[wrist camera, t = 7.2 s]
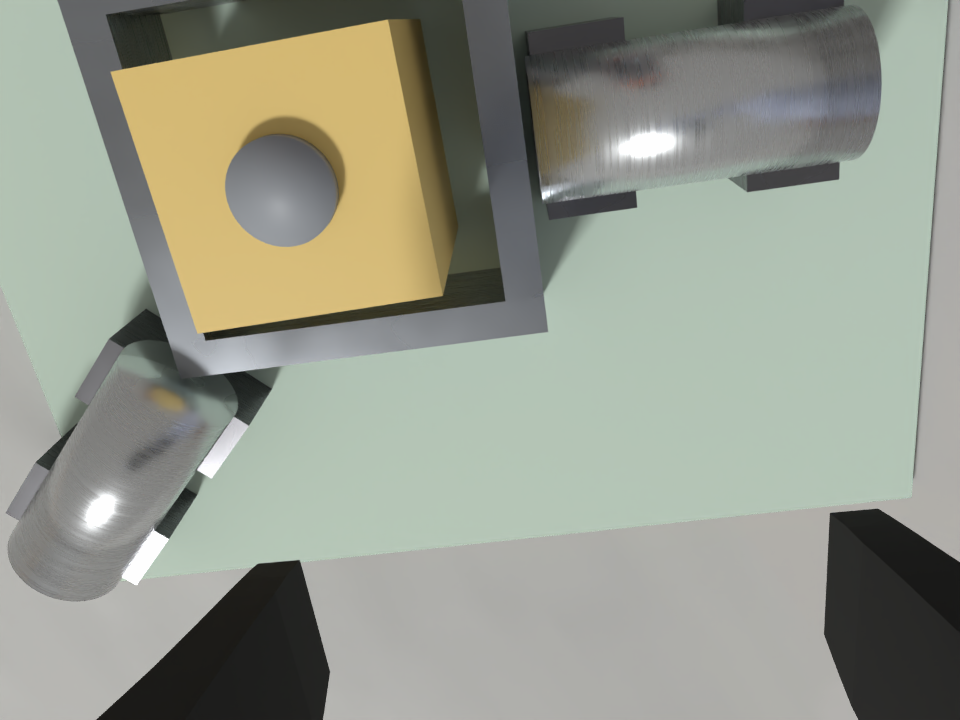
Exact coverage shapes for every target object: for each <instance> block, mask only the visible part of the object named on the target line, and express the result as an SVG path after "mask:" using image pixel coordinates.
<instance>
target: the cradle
mask: <svg viewBox="0 0 960 720" xmlns="http://www.w3.org/2000/svg"><path fill="white" fill-rule="evenodd" d="M57 1H58V4H59V7H60V10H61V13H62V16H63V19H64V22H65V25H66V28H67V31H68V34H69V37H70V40H71V44H72V47H73V50H74V53H75V56H76V59H77V62H78V65H79V68H80V71H81V74H82V77H83V80H84V83H85V86H86V90H87V93H88V96H89V99H90V102H91V105H92V108H93V111H94V114H95V117H96V120H97V123H98V126H99V129H100V133H101V136H102V139H103V142H104V145H105V148H106V151H107V154H108V157H109V160H110V163H111V166H112V169H113V172H114V175H115V179H116V182H117V185H118V188H119V191H120V194H121V197H122V200H123V203H124V206H125V209H126V212H127V215H128V218H129V221H130V225H131V228H132V231H133V234H134V237H135V240H136V243H137V246H138V249H139V252H140V255H141V258H142V261H143V264H144V268H145V271H146V274H147V277H148V280H149V283H150V286H151V289H152V292H153V295H154V298H155V301H156V304H157V307H158V310H159V314H160V317H161V320H162V323H163V326H164V329H165V332H166V335H167V338H168V341H169V344H170V347H171V350H172V353H173V356H174V360H175V363H176V366H177V369H178V372H179V375H180V378H181V379H185V378H193V377H200V376H208V375H216V374H224V373H232V372H240V371H247V370H255V369H263V368H271V367H279V366H286V365H294V364H302V363H310V362H318V361H326V360H333V359H341V358H349V357H357V356H365V355H372V354H380V353H388V352H396V351H404V350H412V349H419V348H427V347H435V346H443V345H451V344H458V343H466V342H474V341H482V340H490V339H498V338H505V337H513V336H521V335H529V334H537V333H544V332H548V325H547V317H546V309H545V301H544V293H543V285H542V277H541V269H540V261H539V253H538V245H537V237H536V228H535V220H534V212H533V204H532V196H531V188H530V180H529V172H528V164H527V156H526V148H525V140H524V132H523V124H522V116H521V107H520V99H519V91H518V83H517V75H516V67H515V59H514V51H513V43H512V35H511V27H510V19H509V11H508V3H507V0H462V3H463V10H464V16H465V23H466V30H467V37H468V44H469V51H470V58H471V65H472V72H473V79H474V86H475V93H476V100H477V107H478V114H479V120H480V127H481V134H482V141H483V148H484V155H485V162H486V169H487V176H488V183H489V190H490V197H491V204H492V211H493V218H494V224H495V231H496V238H497V245H498V252H499V259H500V266H501V267H500V268H492V269H485V270H478V271H470V272H463V273H456V274H448V275H447V280H446V284H445V289H444V293H443V296H439V297H433V298H426V299H420V300H413V301H407V302H400V303H394V304H387V305H381V306H374V307H368V308H361V309H355V310H348V311H342V312H335V313H329V314H322V315H316V316H309V317H303V318H296V319H290V320H283V321H277V322H270V323H264V324H257V325H251V326H244V327H238V328H231V329H225V330H218V331H212V332H205V333H199V334H197V331H196V328H195V325H194V322H193V319H192V316H191V313H190V310H189V307H188V304H187V301H186V298H185V295H184V292H183V289H182V286H181V283H180V280H179V277H178V274H177V271H176V268H175V265H174V262H173V259H172V256H171V253H170V250H169V247H168V244H167V241H166V238H165V235H164V232H163V229H162V226H161V223H160V220H159V217H158V214H157V210H156V207H155V204H154V201H153V198H152V195H151V192H150V189H149V186H148V183H147V180H146V177H145V174H144V171H143V168H142V165H141V162H140V159H139V156H138V153H137V150H136V147H135V144H134V141H133V138H132V135H131V132H130V129H129V126H128V123H127V120H126V117H125V114H124V111H123V108H122V105H121V102H120V99H119V96H118V93H117V90H116V87H115V84H114V81H113V78H112V75H111V72H112V71H117V70H122V69H128V68H133V67H138V66H144V65H149V64H154V63H160V62H165V61H170V60H173V59H172V56H171V52H170V49H169V45H168V41H167V38H166V34H165V31H164V27H163V24H162V20H161V17H160V15H162V14H168V13H174V12H180V11H186V10H192V9H198V8H204V7H210V6H216V5H222V4H228V3H233V2H239V1H245V0H57Z"/></svg>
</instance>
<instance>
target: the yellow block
mask: <svg viewBox="0 0 960 720" xmlns="http://www.w3.org/2000/svg"><path fill="white" fill-rule="evenodd" d="M111 75H112V78H113V81H114V84H115V87H116V90H117V93H118V96H119V99H120V102H121V105H122V108H123V111H124V114H125V117H126V120H127V123H128V126H129V129H130V132H131V135H132V138H133V141H134V144H135V147H136V150H137V153H138V156H139V159H140V162H141V165H142V168H143V171H144V174H145V177H146V180H147V183H148V186H149V189H150V192H151V195H152V198H153V201H154V204H155V207H156V210H157V214H158V217H159V220H160V223H161V226H162V229H163V232H164V235H165V238H166V241H167V244H168V247H169V250H170V253H171V256H172V259H173V262H174V265H175V268H176V271H177V274H178V277H179V280H180V283H181V286H182V289H183V292H184V295H185V298H186V301H187V304H188V307H189V310H190V313H191V316H192V319H193V322H194V325H195V328H196V331H197V334H199V333H205V332H212V331H218V330H225V329H231V328H238V327H244V326H251V325H257V324H264V323H270V322H277V321H283V320H290V319H296V318H303V317H309V316H316V315H322V314H329V313H335V312H342V311H348V310H355V309H361V308H368V307H374V306H381V305H387V304H394V303H400V302H407V301H413V300H420V299H426V298H433V297H439V296H443V293H444V289H445V284H446V280H447V275H448V271H449V266H450V262H451V258H452V253H453V249H454V244H455V240H456V235H457V231H458V222H457V216H456V211H455V206H454V200H453V195H452V189H451V184H450V178H449V173H448V168H447V162H446V157H445V151H444V146H443V140H442V135H441V130H440V124H439V119H438V113H437V108H436V102H435V97H434V92H433V86H432V81H431V75H430V70H429V64H428V59H427V54H426V48H425V43H424V37H423V32H422V26H421V21H420V19H389V20H383V21H377V22H372V23H367V24H361V25H356V26H351V27H346V28H340V29H335V30H330V31H324V32H319V33H314V34H308V35H303V36H298V37H292V38H287V39H282V40H277V41H271V42H266V43H261V44H255V45H250V46H245V47H239V48H234V49H229V50H223V51H218V52H213V53H207V54H202V55H197V56H192V57H186V58H181V59H176V60H170V61H165V62H160V63H154V64H149V65H144V66H138V67H133V68H128V69H122V70H117V71H112V72H111Z"/></svg>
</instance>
